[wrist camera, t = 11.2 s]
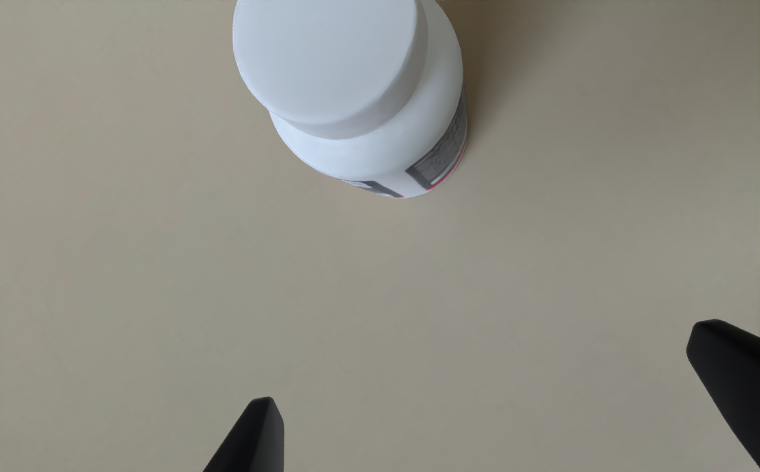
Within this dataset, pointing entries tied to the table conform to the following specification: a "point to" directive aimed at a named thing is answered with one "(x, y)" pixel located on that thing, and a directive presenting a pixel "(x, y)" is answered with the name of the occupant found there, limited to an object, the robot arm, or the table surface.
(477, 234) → the table surface
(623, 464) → the table surface
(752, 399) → the robot arm
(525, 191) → the table surface
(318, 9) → the pill bottle
